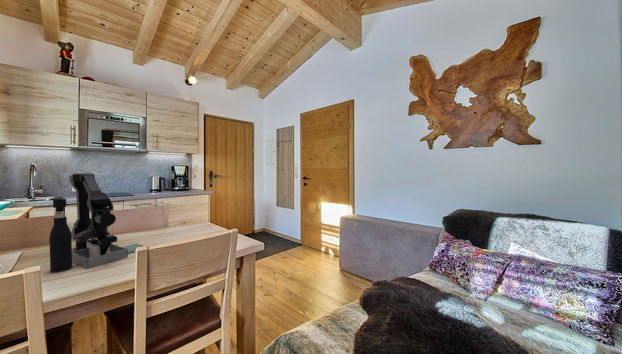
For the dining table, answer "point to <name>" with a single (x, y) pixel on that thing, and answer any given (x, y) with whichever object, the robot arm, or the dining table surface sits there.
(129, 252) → the mat
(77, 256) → the grey tray
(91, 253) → the block
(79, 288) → the dining table surface
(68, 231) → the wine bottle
